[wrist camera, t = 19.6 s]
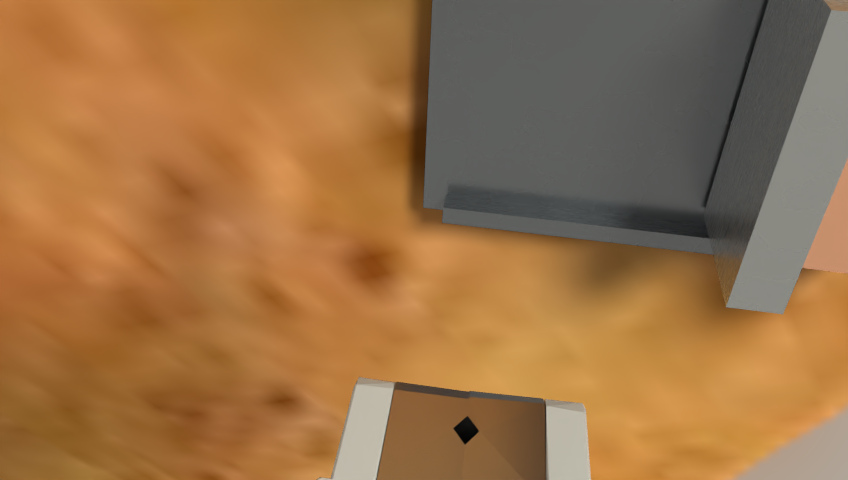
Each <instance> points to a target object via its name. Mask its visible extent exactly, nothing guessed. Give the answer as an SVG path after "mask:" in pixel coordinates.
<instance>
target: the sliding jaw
mask: <svg viewBox="0 0 848 480" xmlns="http://www.w3.org/2000/svg"><path fill="white" fill-rule="evenodd" d="M847 159H848V0H768V4H767V7H766V10H765V14H764V17H763V20H762V23H761V27H760V30H759V33H758V37H757V40H756V43H755V46H754V50H753V53H752V56H751V60H750V63H749V66H748V69H747V73H746V76H745V79H744V83H743V86H742V89H741V93H740V96H739V99H738V102H737V106H736V109H735V112H734V116H733V119H732V122H731V125H730V129H729V132H728V135H727V139H726V142H725V145H724V148H723V152H722V155H721V158H720V162H719V165H718V168H717V172H716V175H715V178H714V181H713V185H712V188H711V191H710V195H709V198H708V201H707V204H706V208H705V211H704V214H703V215H704V219H705V223H706V227H707V232H708V236H709V240H710V244H711V248H712V252H713V256H714V260H715V264H716V269H717V273H718V277H719V281H720V285H721V289H722V293H723V297H724V301H725V305H726V307H729V308H737V309H745V310H753V311H761V312H769V313H778V314H783V313H784V310H785V308H786V306H787V303H788V301H789V298H790V296H791V294H792V291H793V289H794V286H795V284H796V282H797V279H798V277H799V274H800V272H801V270H802V267H803V265H804V262H805V260H806V258H807V255H808V253H809V250H810V248H811V246H812V243H813V241H814V238H815V236H816V233H817V231H818V229H819V226H820V224H821V221H822V219H823V217H824V214H825V212H826V209H827V207H828V205H829V202H830V200H831V197H832V195H833V193H834V190H835V188H836V185H837V183H838V181H839V178H840V176H841V173H842V171H843V169H844V166H845V164H846V161H847Z"/></svg>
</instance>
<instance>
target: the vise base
mask: <svg viewBox="0 0 848 480" xmlns="http://www.w3.org/2000/svg"><path fill="white" fill-rule="evenodd" d="M767 4H768V0H432V20H431V43H430V66H429V88H428V111H427V134H426V156H425V179H424V201H423V208H430V209H439V210H443V218H442V223H449V224H457V225H466V226H474V227H483V228H491V229H500V230H508V231H517V232H525V233H534V234H542V235H551V236H559V237H568V238H576V239H585V240H593V241H602V242H610V243H619V244H627V245H636V246H644V247H653V248H662V249H670V250H679V251H687V252H696V253H704V254H713V252H712V248H711V244H710V240H709V236H708V232H707V227H706V223H705V219H704V215H703V214H704V211H705V208H706V204H707V201H708V198H709V195H710V191H711V188H712V185H713V181H714V178H715V175H716V172H717V168H718V165H719V162H720V158H721V155H722V152H723V148H724V145H725V142H726V139H727V135H728V132H729V129H730V125H731V122H732V119H733V116H734V112H735V109H736V106H737V102H738V99H739V96H740V93H741V89H742V86H743V83H744V79H745V76H746V73H747V69H748V66H749V63H750V60H751V56H752V53H753V50H754V46H755V43H756V40H757V37H758V33H759V30H760V27H761V23H762V20H763V17H764V14H765V10H766V7H767Z"/></svg>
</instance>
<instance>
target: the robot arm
mask: <svg viewBox="0 0 848 480" xmlns="http://www.w3.org/2000/svg"><path fill="white" fill-rule="evenodd" d="M317 480H591V476H590V462H589V448H588V433H587V419H586V409H585V407H584V405H583V403H574V402H565V401H556V400H547V399H545V400H543V399H541V398H531V397H522V396H512V395H502V394H493V393H483V392H474V391H469V392H466V391H459V390H452V389H444V388H437V387H430V386H423V385H416V384H409V383H402V382H391V381H383V380H376V379H369V378H362V377H359V378H358V380H357V382H356V384H355V386H354V389H353V393H352V397H351V400H350V404H349V408H348V412H347V416H346V420H345V424H344V428H343V432H342V436H341V440H340V444H339V448H338V452H337V456H336V459H335V463H334V467H333V471H332V475H331V478H322V477H319V478H318V479H317Z"/></svg>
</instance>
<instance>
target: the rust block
mask: <svg viewBox="0 0 848 480" xmlns="http://www.w3.org/2000/svg"><path fill="white" fill-rule="evenodd" d="M802 268H807V269H815V270H824V271H832V272H840V273H848V159H847V161H846V164H845V166H844V169H843V171H842V173H841V176H840V178H839V181H838V183H837V185H836V188H835V190H834V193H833V195H832V197H831V200H830V202H829V205H828V207H827V209H826V212H825V214H824V217H823V219H822V221H821V224H820V226H819V229H818V231H817V233H816V236H815V238H814V241H813V243H812V246H811V248H810V250H809V253H808V255H807V258H806V260H805V262H804V265H803V267H802Z"/></svg>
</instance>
